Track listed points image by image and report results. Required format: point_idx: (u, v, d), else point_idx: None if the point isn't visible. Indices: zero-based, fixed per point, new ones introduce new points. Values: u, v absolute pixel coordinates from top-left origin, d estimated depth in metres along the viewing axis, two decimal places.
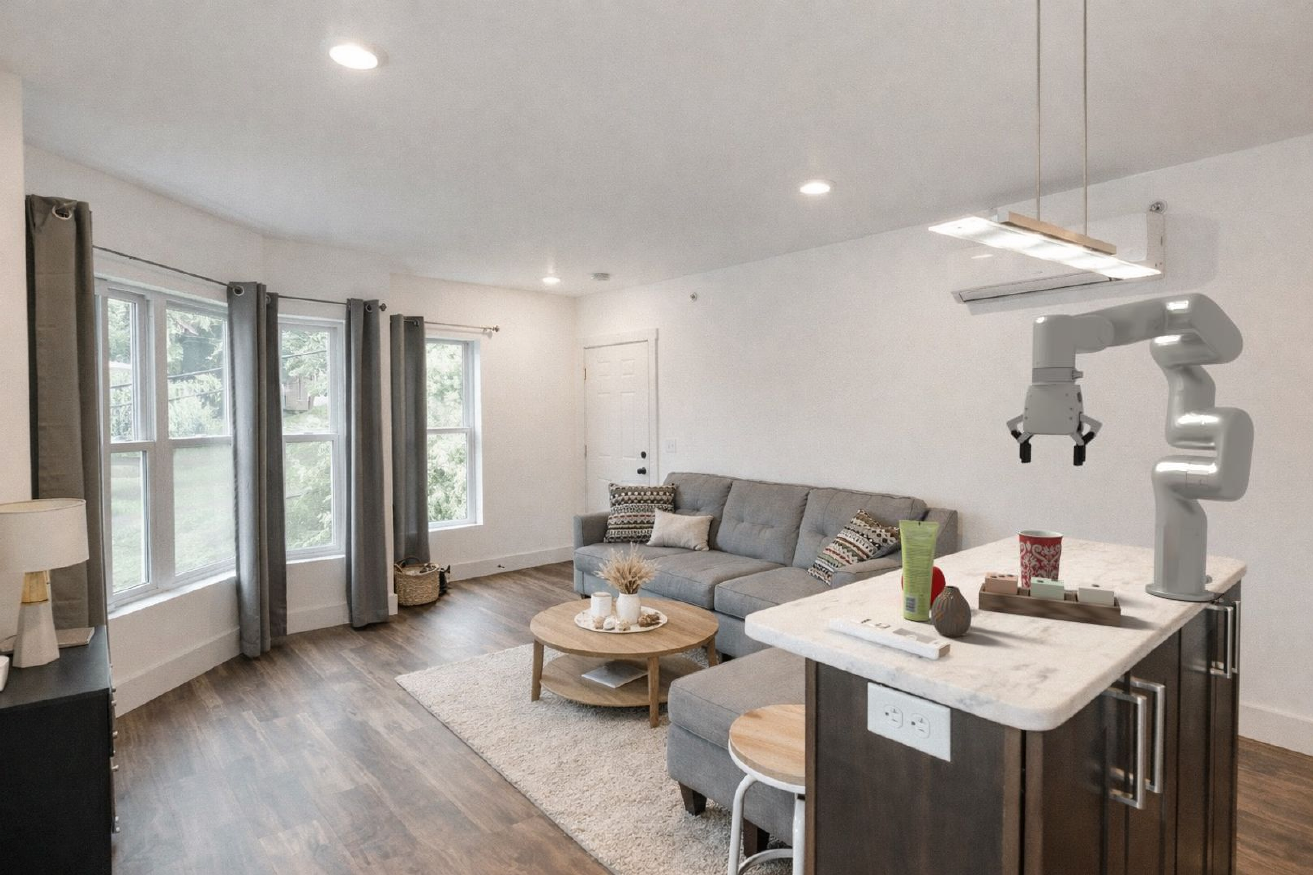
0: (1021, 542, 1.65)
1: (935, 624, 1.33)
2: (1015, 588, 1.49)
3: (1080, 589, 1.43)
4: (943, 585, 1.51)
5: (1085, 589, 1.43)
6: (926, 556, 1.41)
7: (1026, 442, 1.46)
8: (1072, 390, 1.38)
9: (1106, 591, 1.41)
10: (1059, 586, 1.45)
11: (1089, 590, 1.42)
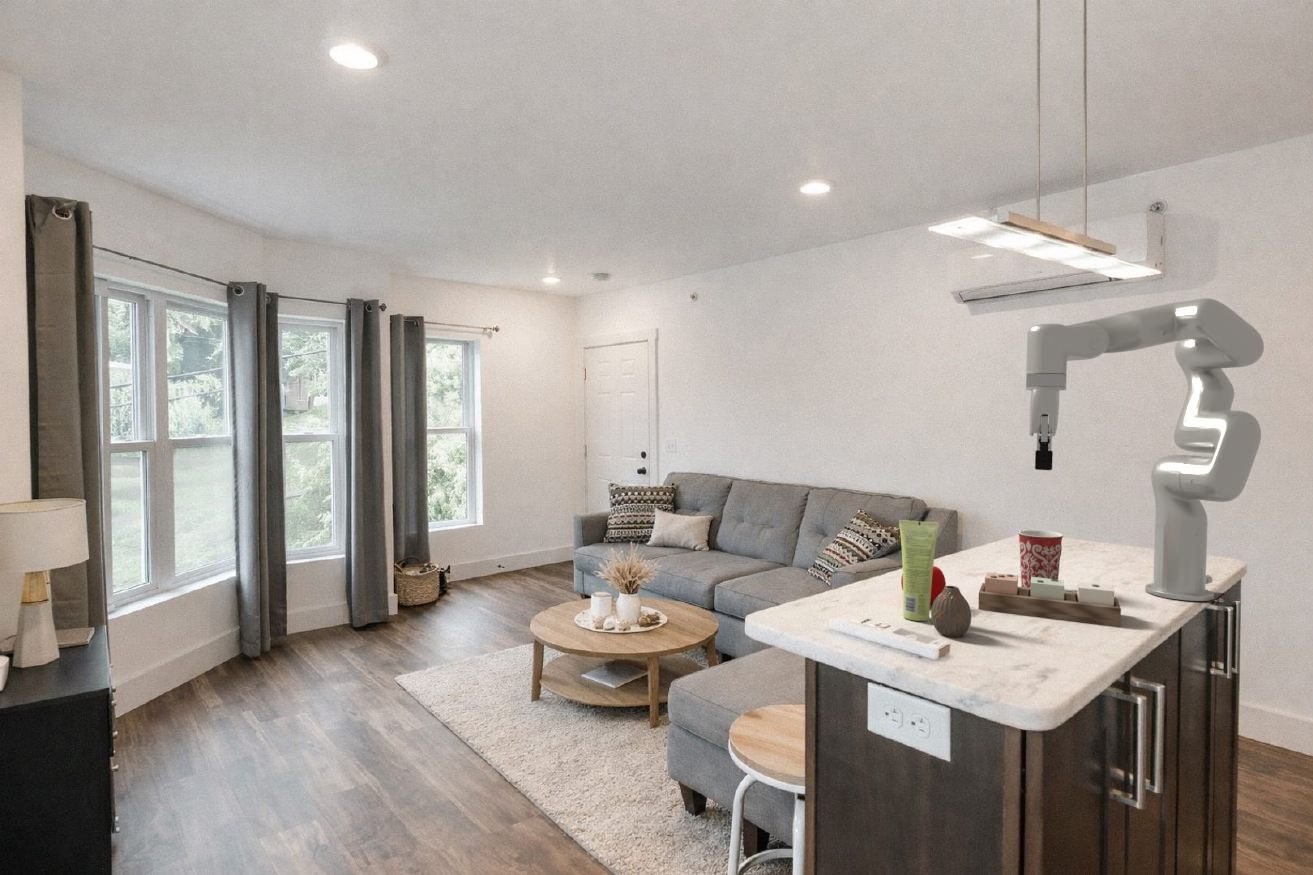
0: (1021, 542, 1.65)
1: (935, 624, 1.33)
2: (1015, 588, 1.49)
3: (1080, 589, 1.43)
4: (943, 585, 1.51)
5: (1085, 589, 1.43)
6: (926, 556, 1.41)
7: None
8: None
9: (1106, 591, 1.41)
10: (1059, 586, 1.45)
11: (1089, 590, 1.42)
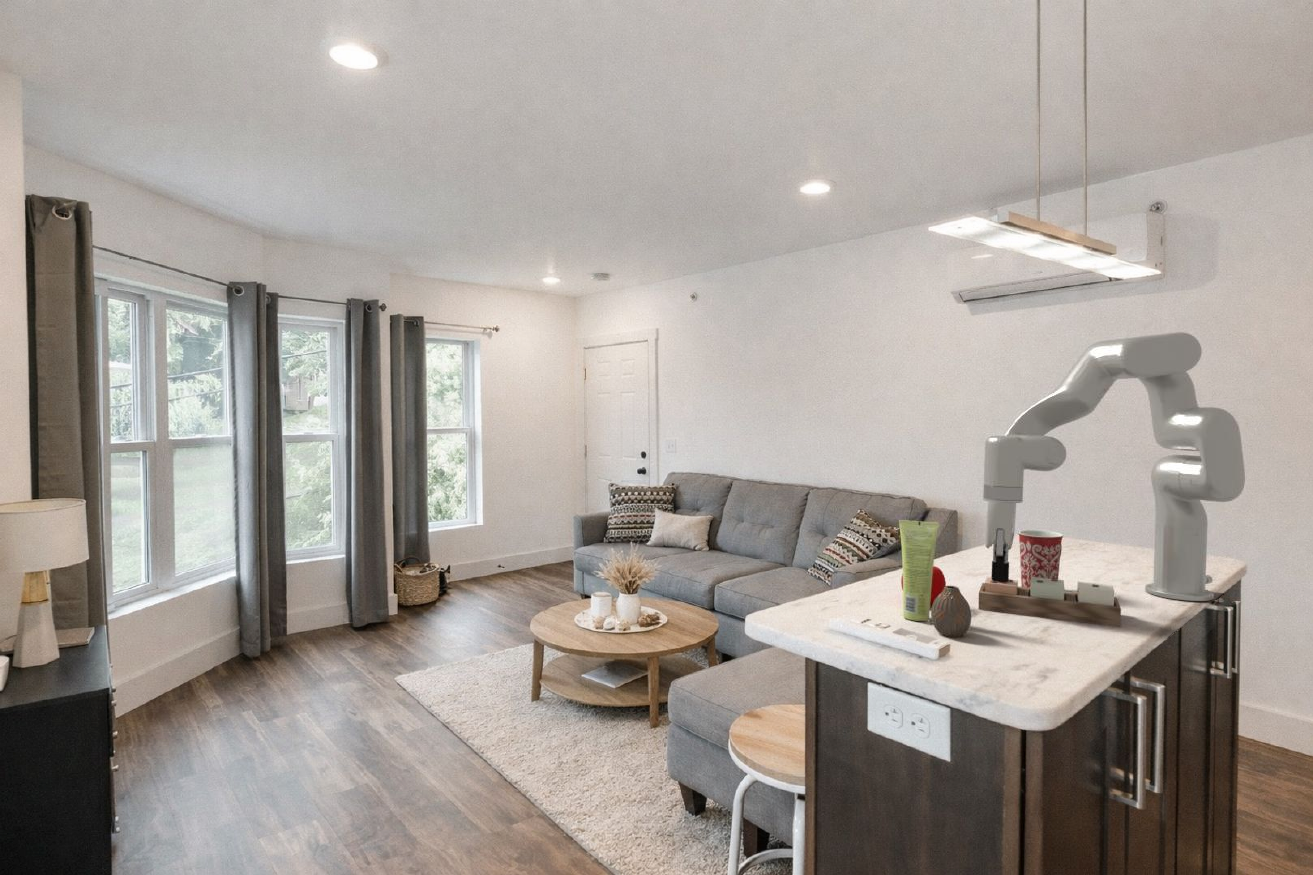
0: (1021, 542, 1.65)
1: (935, 624, 1.33)
2: (1015, 593, 1.49)
3: (1080, 589, 1.43)
4: (943, 585, 1.51)
5: (1085, 589, 1.43)
6: (926, 556, 1.41)
7: None
8: None
9: (1106, 591, 1.41)
10: (1059, 586, 1.45)
11: (1089, 590, 1.42)
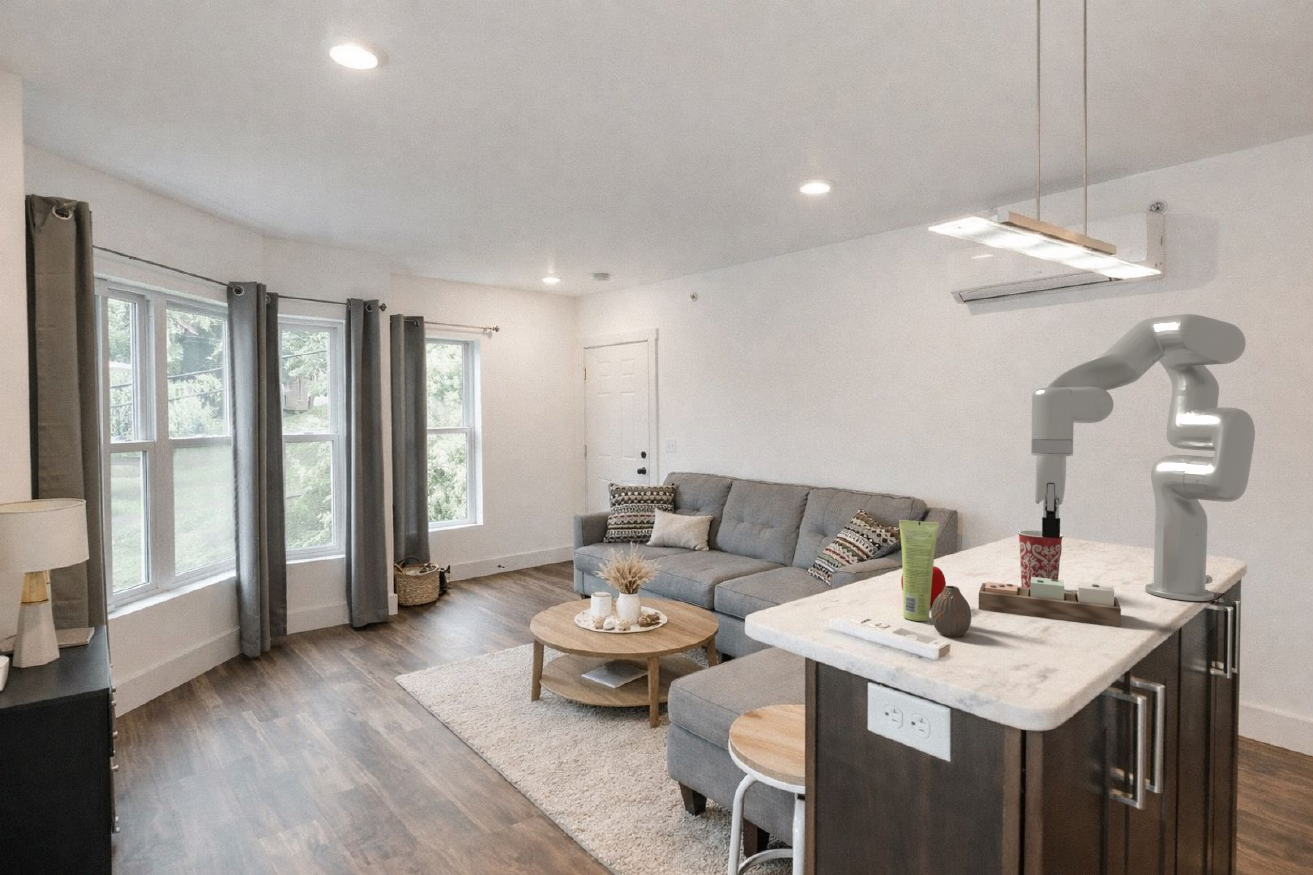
0: (1021, 542, 1.65)
1: (935, 624, 1.33)
2: None
3: (1080, 589, 1.43)
4: (943, 585, 1.51)
5: (1085, 589, 1.43)
6: (926, 556, 1.41)
7: None
8: None
9: (1106, 591, 1.41)
10: (1059, 586, 1.45)
11: (1089, 590, 1.42)
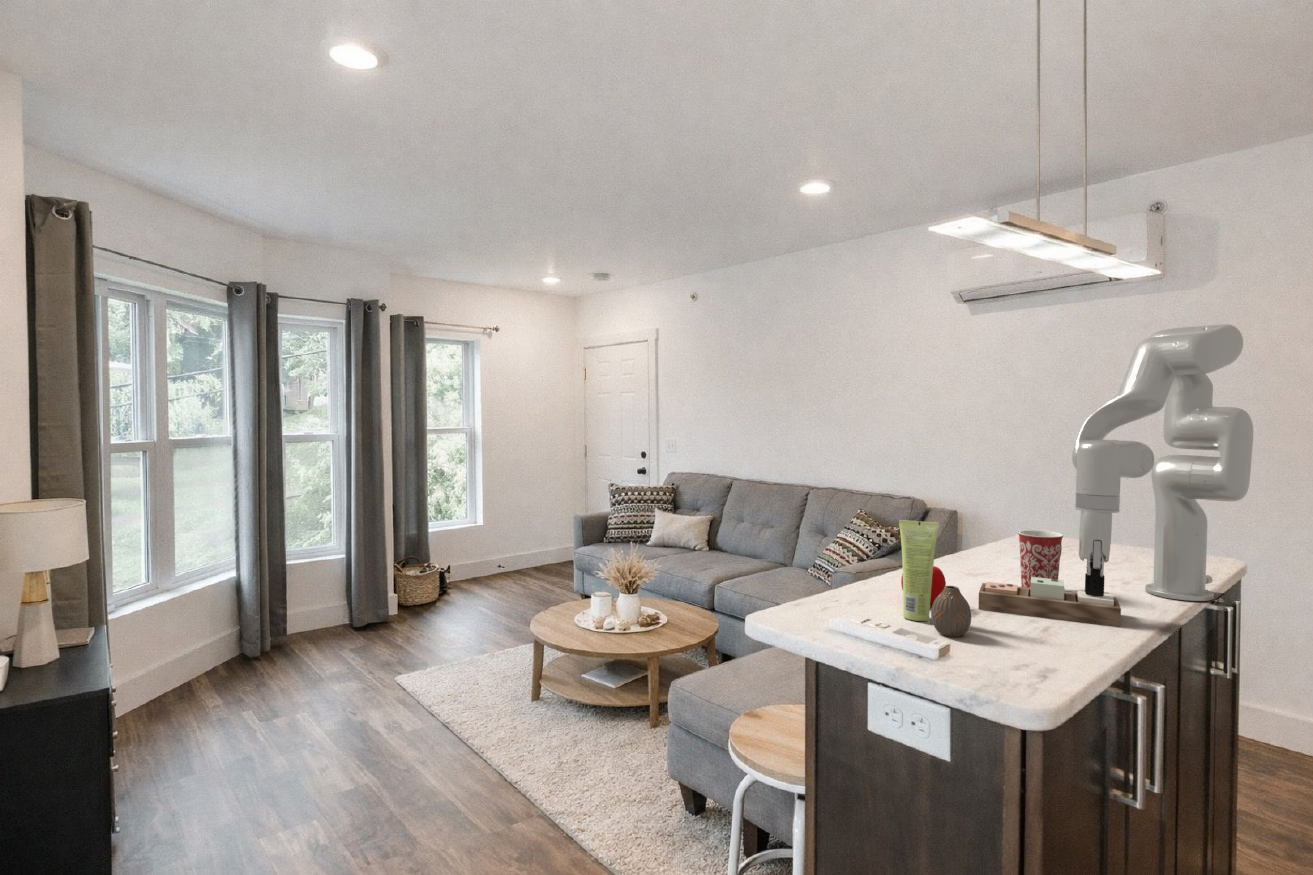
0: (1021, 542, 1.65)
1: (935, 624, 1.33)
2: None
3: (1080, 598, 1.43)
4: (943, 585, 1.51)
5: (1085, 598, 1.43)
6: (926, 556, 1.41)
7: None
8: None
9: (1106, 601, 1.41)
10: (1059, 586, 1.45)
11: (1089, 599, 1.42)
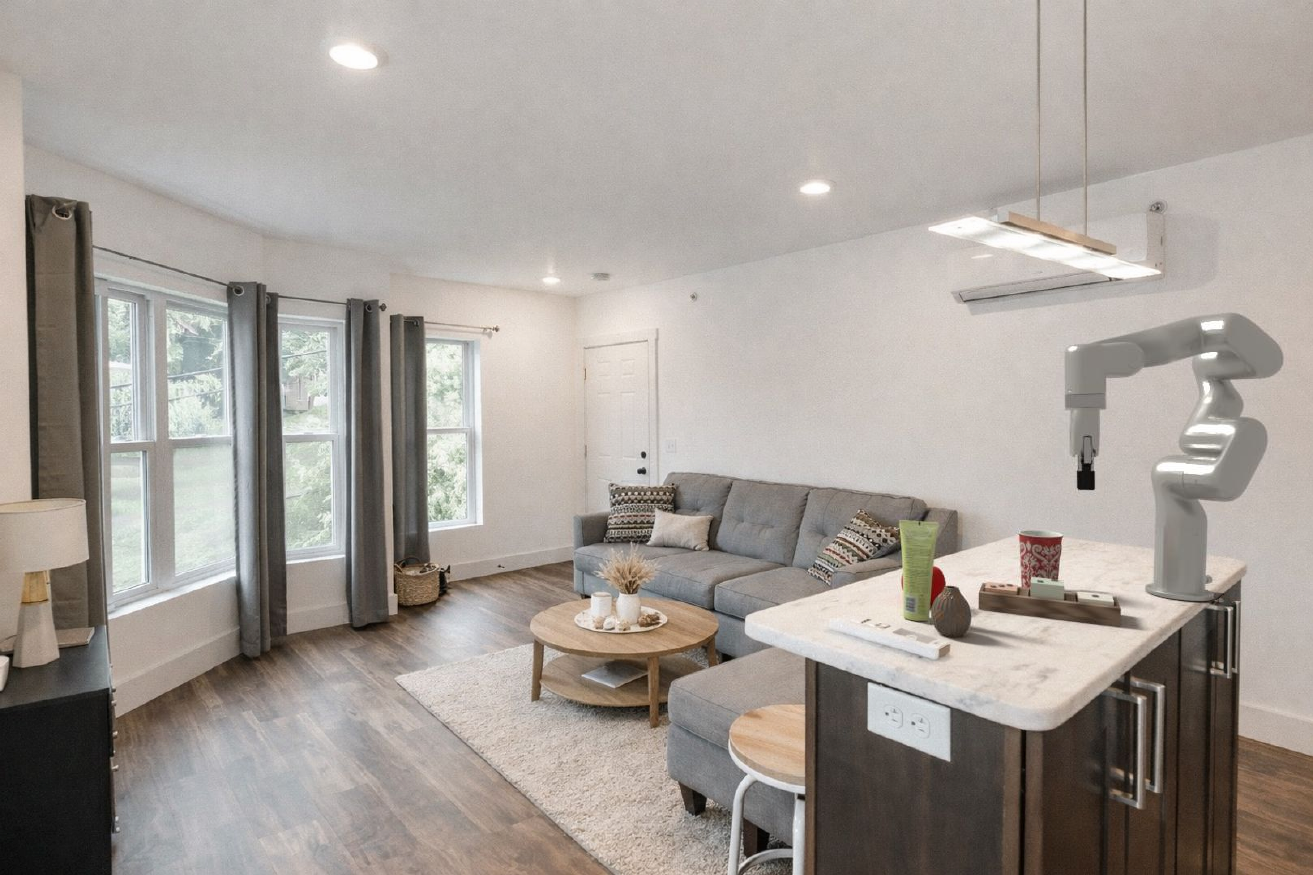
0: (1021, 542, 1.65)
1: (935, 624, 1.33)
2: None
3: (1080, 599, 1.43)
4: (943, 585, 1.51)
5: (1085, 599, 1.43)
6: (926, 556, 1.41)
7: None
8: None
9: (1106, 602, 1.41)
10: (1059, 586, 1.45)
11: (1089, 600, 1.42)
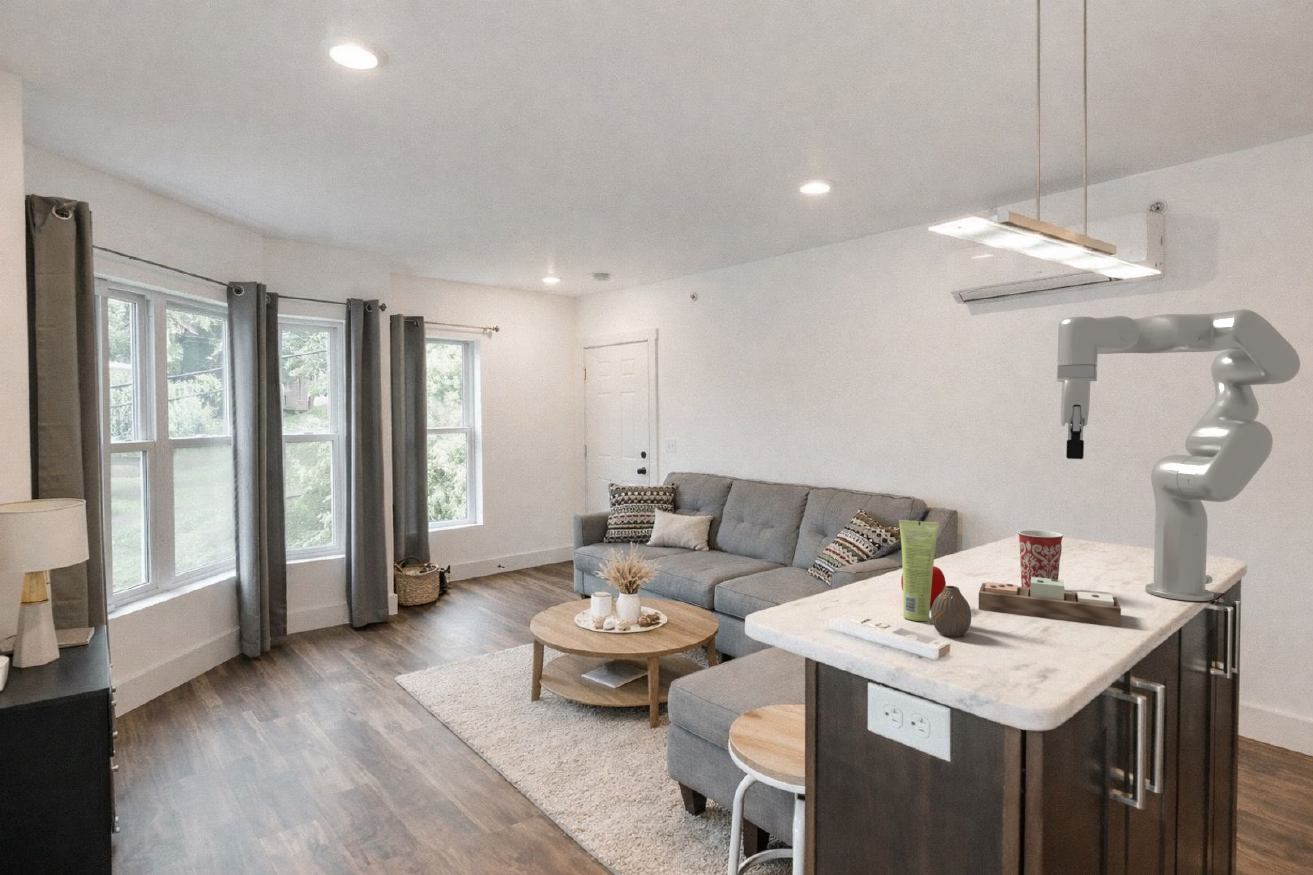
0: (1021, 542, 1.65)
1: (935, 624, 1.33)
2: None
3: (1080, 599, 1.43)
4: (943, 585, 1.51)
5: (1085, 599, 1.43)
6: (926, 556, 1.41)
7: None
8: None
9: (1106, 602, 1.41)
10: (1059, 586, 1.45)
11: (1089, 600, 1.42)
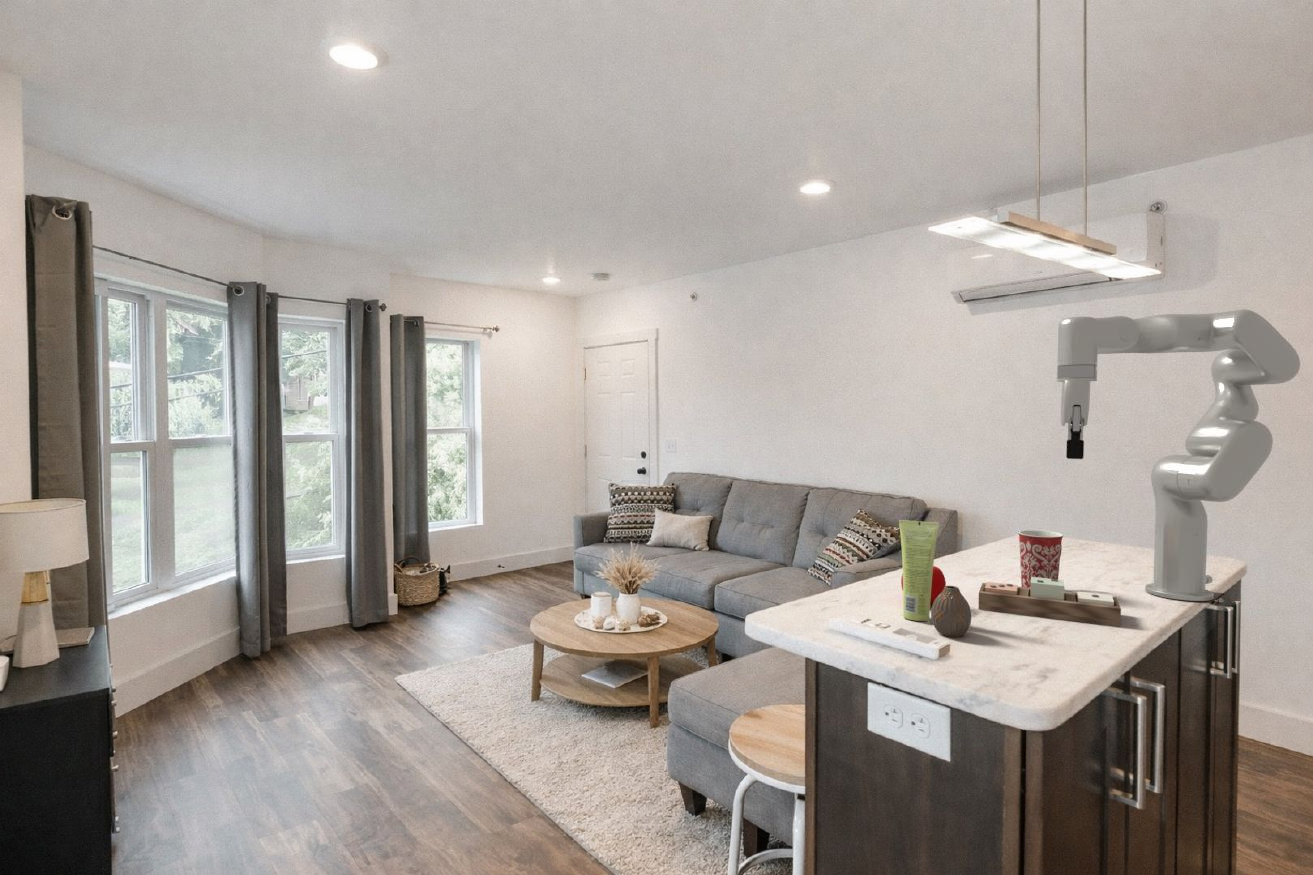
0: (1021, 542, 1.65)
1: (935, 624, 1.33)
2: None
3: (1080, 599, 1.43)
4: (943, 585, 1.51)
5: (1085, 599, 1.43)
6: (926, 556, 1.41)
7: None
8: None
9: (1106, 602, 1.41)
10: (1059, 586, 1.45)
11: (1089, 600, 1.42)
